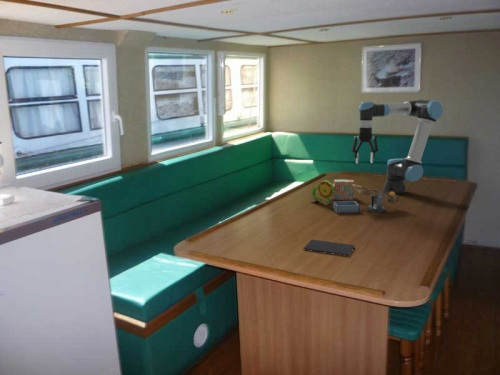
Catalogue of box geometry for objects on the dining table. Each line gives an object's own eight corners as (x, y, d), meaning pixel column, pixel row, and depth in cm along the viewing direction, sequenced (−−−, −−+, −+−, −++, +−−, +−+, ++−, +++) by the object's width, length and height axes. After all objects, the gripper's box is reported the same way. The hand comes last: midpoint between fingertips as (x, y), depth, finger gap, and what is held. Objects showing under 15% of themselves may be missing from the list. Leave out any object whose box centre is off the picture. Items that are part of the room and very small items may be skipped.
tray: (354, 207, 279) (354, 200, 278) (359, 212, 269) (359, 205, 268) (332, 208, 278) (332, 201, 277) (336, 213, 268) (337, 205, 267)
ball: (392, 197, 275) (394, 192, 275) (394, 198, 272) (397, 193, 272) (387, 195, 275) (390, 190, 274) (389, 196, 272) (392, 191, 271)
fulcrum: (379, 206, 280) (380, 189, 278) (386, 211, 270) (387, 193, 267) (367, 207, 280) (367, 189, 277) (373, 212, 269) (373, 194, 267)
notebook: (303, 251, 212) (348, 257, 203) (303, 248, 212) (349, 254, 203) (311, 242, 223) (355, 248, 214) (311, 239, 223) (355, 245, 214)
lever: (386, 197, 288) (389, 190, 287) (397, 204, 271) (399, 196, 270) (350, 189, 285) (353, 182, 284) (358, 196, 268) (361, 188, 267)
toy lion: (309, 202, 294) (310, 179, 290) (314, 200, 298) (315, 177, 294) (330, 206, 283) (331, 182, 280) (335, 204, 287) (336, 181, 284)
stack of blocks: (320, 199, 300) (320, 181, 297) (319, 197, 306) (320, 179, 303) (353, 199, 298) (354, 181, 295) (352, 197, 304) (352, 179, 301)
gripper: (380, 126, 285) (378, 161, 291) (347, 126, 284) (345, 162, 289) (384, 127, 278) (383, 163, 283) (350, 128, 277) (349, 164, 282)
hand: (364, 163), depth 286 cm, fingers open, 9 cm apart
